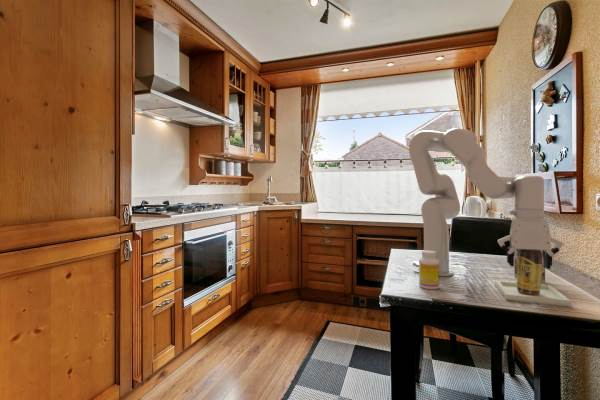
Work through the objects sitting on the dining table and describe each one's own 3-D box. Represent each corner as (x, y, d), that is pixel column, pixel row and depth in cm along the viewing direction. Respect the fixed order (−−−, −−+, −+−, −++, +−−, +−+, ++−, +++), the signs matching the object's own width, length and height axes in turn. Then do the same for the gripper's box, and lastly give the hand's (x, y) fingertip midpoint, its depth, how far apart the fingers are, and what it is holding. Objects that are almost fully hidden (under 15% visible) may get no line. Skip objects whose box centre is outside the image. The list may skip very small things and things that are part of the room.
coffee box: (546, 284, 108) (546, 240, 108) (526, 283, 110) (526, 239, 109) (532, 277, 117) (532, 236, 117) (513, 276, 119) (513, 236, 118)
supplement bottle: (441, 290, 104) (441, 253, 104) (421, 289, 105) (421, 253, 105) (436, 284, 111) (436, 249, 110) (417, 283, 112) (417, 249, 111)
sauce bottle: (512, 289, 101) (514, 230, 101) (530, 289, 101) (533, 230, 100) (526, 296, 95) (528, 233, 94) (546, 296, 95) (548, 234, 94)
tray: (505, 300, 94) (505, 294, 94) (495, 285, 108) (495, 280, 108) (570, 306, 88) (570, 300, 87) (550, 290, 102) (550, 284, 102)
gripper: (500, 214, 97) (500, 267, 98) (567, 215, 90) (567, 271, 91) (495, 213, 104) (495, 262, 105) (557, 213, 97) (557, 266, 98)
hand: (528, 266), depth 98 cm, fingers open, 9 cm apart
